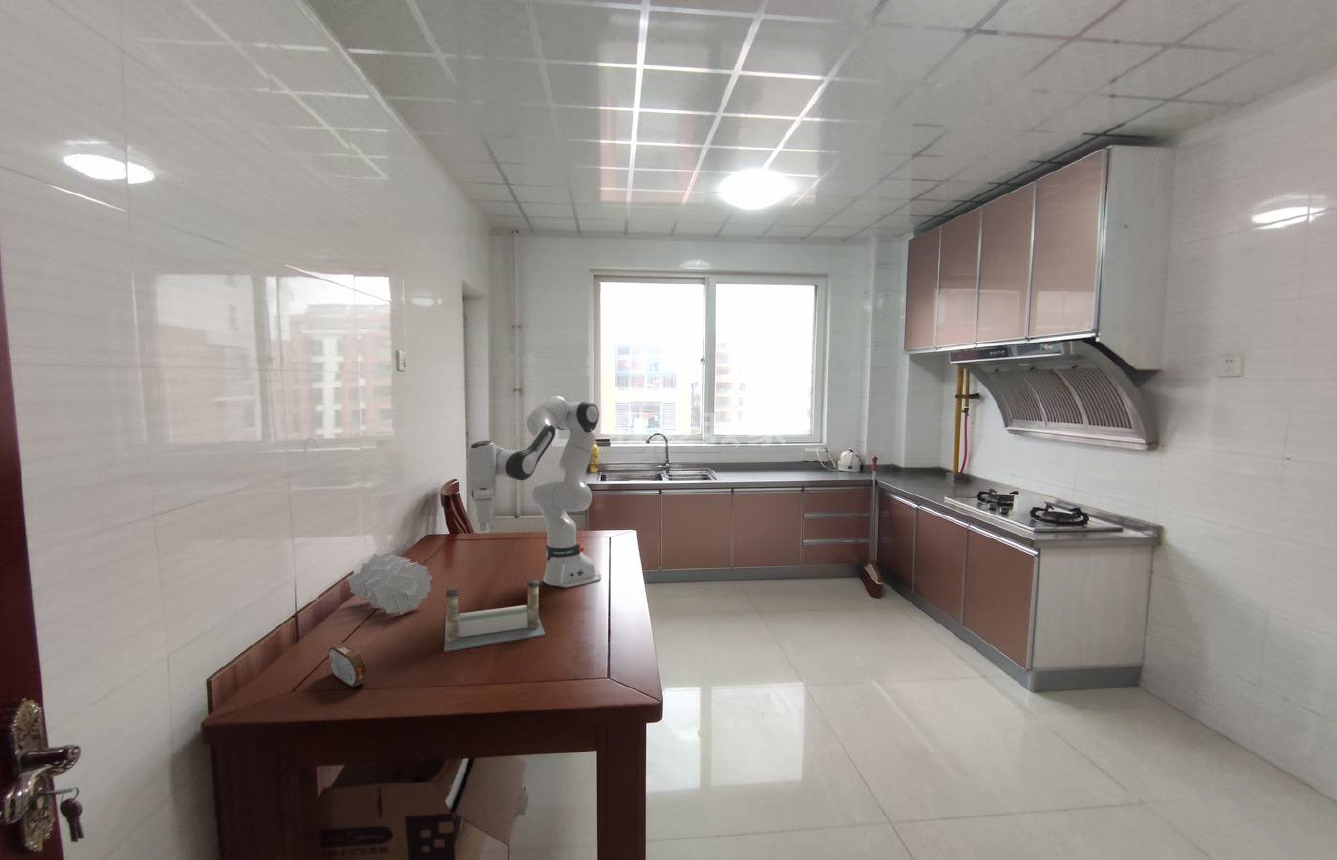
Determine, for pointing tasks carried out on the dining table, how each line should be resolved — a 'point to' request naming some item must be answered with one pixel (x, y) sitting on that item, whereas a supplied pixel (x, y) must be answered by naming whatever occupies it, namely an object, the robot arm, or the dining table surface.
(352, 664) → the tin
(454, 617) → the gate posts
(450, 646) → the mat
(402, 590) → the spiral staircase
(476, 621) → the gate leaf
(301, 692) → the dining table surface
